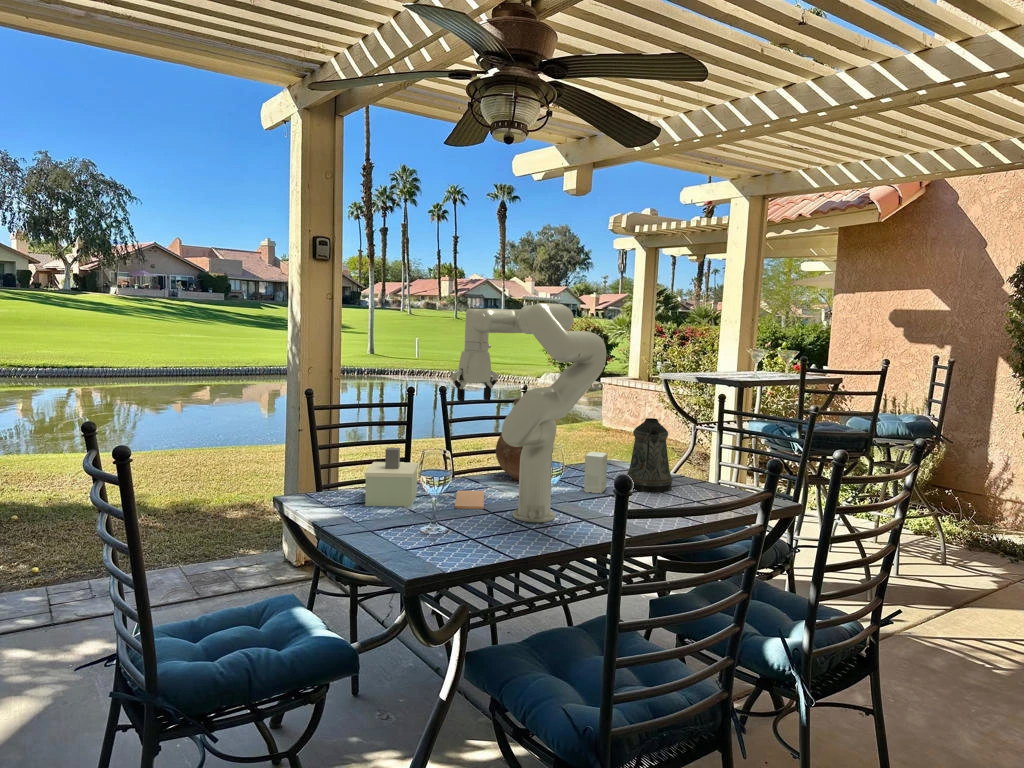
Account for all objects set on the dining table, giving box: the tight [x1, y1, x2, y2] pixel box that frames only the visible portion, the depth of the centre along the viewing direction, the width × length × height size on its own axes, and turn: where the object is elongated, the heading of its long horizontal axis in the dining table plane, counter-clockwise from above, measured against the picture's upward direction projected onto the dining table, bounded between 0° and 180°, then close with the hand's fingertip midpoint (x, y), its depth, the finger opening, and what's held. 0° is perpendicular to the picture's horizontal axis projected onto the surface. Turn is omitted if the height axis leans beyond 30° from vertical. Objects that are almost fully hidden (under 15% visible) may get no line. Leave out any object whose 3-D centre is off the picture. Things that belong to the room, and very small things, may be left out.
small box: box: [583, 451, 608, 494], centre depth 238 cm, size 8×6×13 cm
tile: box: [453, 490, 485, 510], centre depth 220 cm, size 20×18×1 cm
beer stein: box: [626, 417, 673, 494], centre depth 243 cm, size 16×19×25 cm
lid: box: [364, 446, 419, 478], centre depth 214 cm, size 17×15×8 cm
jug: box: [495, 397, 523, 482], centre depth 253 cm, size 22×22×30 cm
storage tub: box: [364, 469, 418, 507], centre depth 214 cm, size 16×14×10 cm
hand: (474, 400), depth 219 cm, fingers open, 9 cm apart
